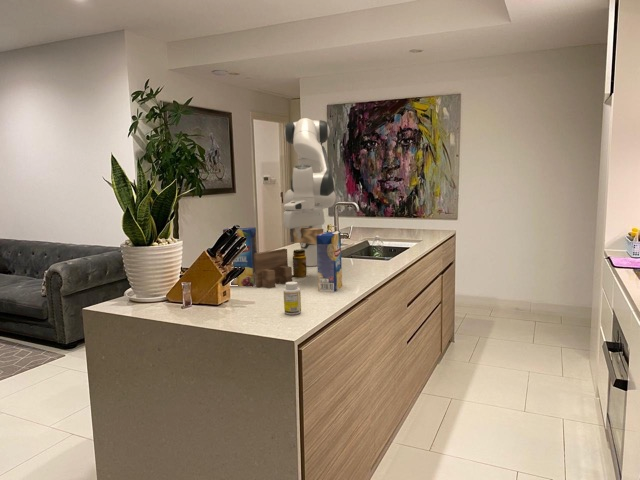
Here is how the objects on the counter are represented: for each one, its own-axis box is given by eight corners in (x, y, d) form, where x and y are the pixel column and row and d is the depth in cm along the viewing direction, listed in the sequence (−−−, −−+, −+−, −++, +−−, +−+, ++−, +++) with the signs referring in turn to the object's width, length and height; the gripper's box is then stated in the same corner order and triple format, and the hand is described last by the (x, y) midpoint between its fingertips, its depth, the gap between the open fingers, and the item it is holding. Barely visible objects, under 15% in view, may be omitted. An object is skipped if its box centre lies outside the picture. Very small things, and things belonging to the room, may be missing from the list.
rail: (323, 243, 201) (323, 228, 200) (316, 244, 198) (315, 229, 197) (297, 240, 213) (297, 226, 212) (290, 241, 210) (289, 227, 209)
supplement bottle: (292, 309, 167) (291, 280, 166) (304, 312, 164) (303, 282, 162) (280, 313, 163) (279, 283, 162) (293, 316, 160) (291, 285, 158)
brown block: (295, 282, 210) (294, 250, 208) (265, 289, 199) (264, 255, 197) (285, 280, 215) (284, 248, 213) (255, 286, 204) (253, 253, 202)
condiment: (310, 276, 222) (309, 250, 220) (294, 279, 217) (293, 252, 215) (302, 274, 228) (301, 248, 226) (286, 276, 223) (284, 250, 222)
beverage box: (342, 285, 201) (340, 232, 198) (335, 291, 191) (333, 235, 188) (326, 284, 203) (324, 232, 200) (318, 291, 193) (316, 235, 190)
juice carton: (258, 282, 212) (255, 227, 209) (253, 286, 205) (250, 229, 201) (232, 282, 214) (228, 227, 211) (226, 286, 207) (222, 229, 203)
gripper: (317, 202, 213) (318, 234, 215) (280, 205, 199) (281, 239, 201) (327, 203, 209) (328, 235, 211) (290, 206, 195) (291, 240, 197)
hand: (305, 237), depth 206 cm, fingers closed on rail, 4 cm apart
